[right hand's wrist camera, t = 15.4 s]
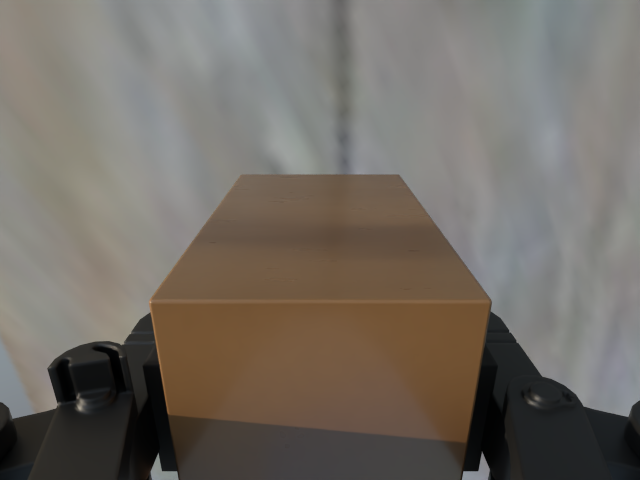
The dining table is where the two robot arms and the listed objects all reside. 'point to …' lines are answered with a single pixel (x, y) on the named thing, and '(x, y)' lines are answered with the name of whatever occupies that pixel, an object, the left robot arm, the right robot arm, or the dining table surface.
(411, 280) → the bar
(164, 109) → the dining table surface
